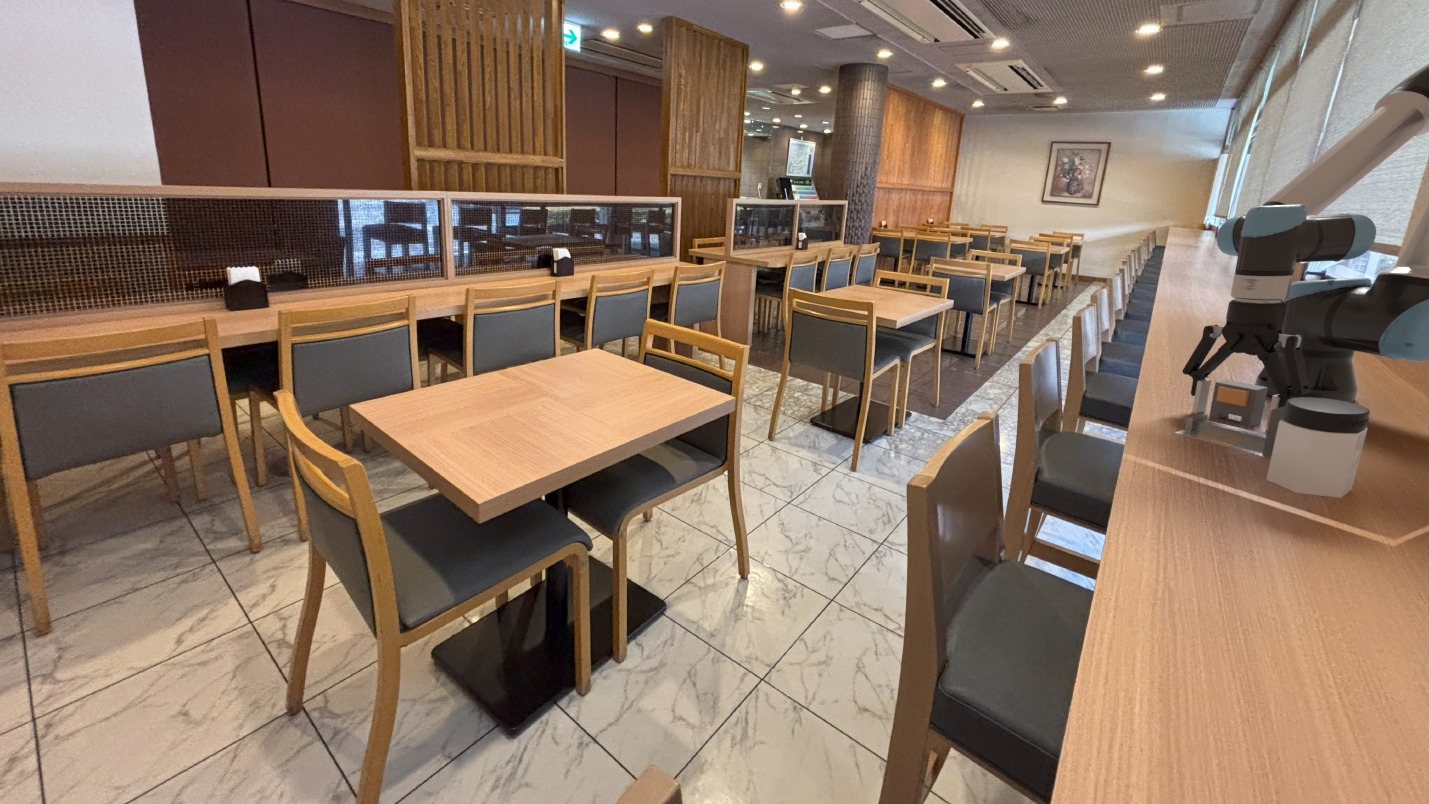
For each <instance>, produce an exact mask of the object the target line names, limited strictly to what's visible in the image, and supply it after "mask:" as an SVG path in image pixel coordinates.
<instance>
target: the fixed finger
mask: <svg viewBox="0 0 1429 804" xmlns="http://www.w3.org/2000/svg"><path fill="white" fill-rule="evenodd" d="M1284 409H1285V406H1284V407H1280V408H1276V409H1272V410H1270V409H1269V410H1270V413H1269V412H1268V415H1269V418H1268V417H1267V420H1268V422H1267V421H1266V424H1267V427H1268V431H1267V430H1266V435H1267V436H1266V441H1265V445H1264V450H1263V454H1266V455H1270V456H1272V451H1273V447H1274V442H1275V438H1276V433H1277V429H1278V424H1279V421H1280V420H1282V419H1283V413H1284Z"/></svg>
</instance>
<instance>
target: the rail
mask: <svg viewBox="0 0 1429 804" xmlns="http://www.w3.org/2000/svg"><path fill="white" fill-rule="evenodd" d="M1208 418H1209V414H1205V413H1197V414H1195V415H1194V414H1193V415H1191V416H1190V415H1189V416H1187V417H1186V421H1185V426H1184V429H1181V430H1179V431H1178V430H1177V431H1174V433H1173V434H1177V435H1180V436H1185V437H1188V438H1192V439H1195V440H1199V441H1203V442H1207V443H1211V444H1214V445H1218V446H1223V447H1226V448H1228V449H1233V450H1236V451H1239V452H1243V453H1247V454H1251V455H1255V456H1259V457H1262V458H1265V459H1269V460H1271V456H1270V455H1266V454H1263V450H1264V445H1265V441H1266V436H1267V433H1261V432H1258V431H1253V430H1249V429H1246V428H1242V427H1237V426H1232V425H1228V424H1224V423H1221V422H1216V421H1212V420H1208Z"/></svg>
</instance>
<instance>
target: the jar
mask: <svg viewBox="0 0 1429 804" xmlns="http://www.w3.org/2000/svg"><path fill="white" fill-rule="evenodd" d="M1370 414H1371V412H1370V409H1369V408H1367V407H1366V406H1364V405H1361V404H1357V403H1354V402H1346V401H1341V400H1334V399H1326V398H1314V397H1298V398H1291V399H1288V400H1287V401H1286V404H1285V409H1284V413H1283V419H1282V420H1280V421H1279V424H1278V429H1277V433H1276V438H1275V442H1274V447H1273V451H1272V456H1271V459H1269V460H1270V461H1269V466H1268V470H1267V475H1266V481H1268V482H1271V483H1273V484H1276V485H1277V486H1280V487H1282V488H1284V489H1286V490H1290V491H1292V492H1293V493H1295V494H1304V495H1312V496H1321V497H1328V498H1338V499H1341V498H1342V499H1343V497H1344V496H1346V495H1347V494H1348V493H1349V492H1350V491H1352V490H1353V485H1354V482H1355V479H1356V474H1357V471H1358V468H1359V467H1358V466H1359V463H1360V459H1361V456H1362V451H1363V447H1364V444H1365V441H1366V437H1367V432H1368V427H1367V426H1368V424H1369V421H1370Z"/></svg>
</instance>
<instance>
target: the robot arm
mask: <svg viewBox="0 0 1429 804" xmlns="http://www.w3.org/2000/svg"><path fill="white" fill-rule="evenodd" d="M1427 133H1429V63H1427V64H1425V65H1424V66H1422V67H1421V68H1420V69H1418V70H1416V71H1415V72H1413V73H1412V74H1410V75H1409V76H1408V77H1407V78H1405V79H1403V80H1402V81H1401V82H1399V83H1398V84H1397V85H1396V86H1394V87H1393V88H1392V89H1390V90H1389V91H1388V92H1387V93H1386V94H1384V96H1383V97H1381V98H1380V99H1379V100H1378V101H1377V102H1376V104H1375V105H1374V109H1373V112H1372V113H1370V114H1369V116H1367V117H1366V118H1364V119H1363V120H1362V121H1361V122H1360V123H1359V124H1357V125H1356V126H1355V127H1354V128H1353V129H1352V130H1350V131H1349V132H1348V133H1347V134H1346V135H1344V136H1343V137H1342V138H1341V139H1340V140H1339V141H1337V142H1336V143H1335V144H1334V145H1332V146H1331V147H1330V148H1328V149H1327V150H1326V151H1325V152H1324V153H1322V155H1320V156H1319V157H1318V158H1317V159H1315V160H1314V161H1313V162H1312V163H1311V164H1310V165H1308V166H1307V167H1305V169H1304V170H1303V171H1301V172H1300V173H1299V174H1298V175H1297V176H1295V177H1294V178H1293V179H1291V180H1290V181H1289V182H1288V183H1286V185H1284V186H1283V187H1282V188H1281V189H1280V190H1279V191H1277V192H1276V193H1275V194H1273V195H1272V196H1271V197H1270V198H1269V199H1268V200H1266V201H1265V202H1264V203H1263V204H1262V205H1256V206H1253V207H1251V208H1249V210H1248V211H1247V213H1246V214H1242V215H1239V216H1234V217H1231V218H1228V219H1227V220H1225V222H1223V224H1221V226H1220V227H1219V229H1218V231H1217V234H1216V245H1217V247H1218V248H1219V250H1220V252H1222V253H1223V254H1225V255H1228V256H1232V257H1237V259H1236V265H1235V270H1234V271H1235V272H1234V275H1233V280H1232V287H1231V291H1230V297H1232V298H1233V299H1232V300H1230V301H1228V305H1227V306H1228V307H1227V312H1226V317H1225V319H1226V323H1225V325H1223V326H1219V325H1218V324H1210V325H1206V326H1204V327H1203V331H1202V336H1201V339H1200V340H1199V342H1198V344H1197V345H1196V348H1195V349H1194V350H1193V352H1192V354H1191V356H1190V357H1189V359H1188V360H1187V362H1186V364H1185V365H1184V367H1183V368H1182V374H1183V375H1186V376H1187V375H1188V376H1189V377H1191V378H1192V383H1191V389H1190V395H1191V396H1192V397H1194V399H1193V404H1192V405H1193V406H1192V411H1191V413H1192V414H1195V415H1198V414H1202V413H1205V412H1206V409H1207V405H1208V399H1209V393H1210V388H1211V384H1212V379H1208V378H1209V375H1211V373H1213V372H1214V371H1215V370H1216V369H1217V368H1218V367H1219V366H1220V365H1221V364H1222V363H1224V362H1225V361H1227V359H1228V358H1229V357H1230V356H1231V355H1233V354H1234V353H1235V354H1242V353H1243V354H1246V355H1249V356H1256V357H1257V358H1258V360H1259V361H1261V362H1262V364H1263V368H1262V369H1261V370H1260V372H1259V374H1258V375H1257V376H1256V379H1255V383H1254V385H1258V386H1263V387H1268V390H1267V395H1266V396H1268V397H1271V402H1270V407H1269V409H1268V410H1269V412H1268V416H1267V420H1266V425H1265V431H1266V432H1267V431H1268V427H1267V422H1268V418H1269V413H1270V410H1272V409H1276V408H1280V407H1284V406H1285V404H1286V401H1287V400H1288V399H1291V398H1298V397H1314V398H1326V399H1334V400H1341V401H1346V402H1351V403H1354V402H1355V401H1356V398H1357V395H1358V391H1359V388H1358V383H1357V378H1356V373H1355V368H1354V363H1353V358H1354V354H1355V352H1358V353H1364V354H1370V355H1374V356H1380V357H1385V358H1387V359H1391V360H1394V361H1395V360H1396V361H1400V360H1403V361H1404V360H1405V361H1411V362H1429V203H1428V204H1427V207H1426V209H1425V211H1424V212H1423V214H1422V216H1421V218H1420V219H1419V222H1418V223H1417V225H1416V227H1415V229H1414V230H1413V232H1412V235H1411V236H1410V238H1409V240H1408V242H1407V244H1406V245H1405V247H1404V249H1403V251H1402V253H1401V255H1400V257H1399V259H1398V260H1397V263H1396V264H1395V265H1394V266H1393V267H1392V268H1389V269H1387V270H1384V271H1382V272H1379V273H1378V274H1377V276H1376V278H1375V280H1374V282H1373V283H1372V279H1371V278H1368V277H1358V278H1354V277H1353V278H1338V279H1337V278H1336V279H1333V278H1332V279H1319V280H1318V279H1317V280H1315V279H1313V280H1299V281H1294V282H1293V283H1292V281H1293V275H1294V272H1295V268H1296V264H1298V263H1313V262H1335V263H1337V262H1340V261H1345V260H1354V259H1357V258H1359V257H1361V256H1362V255H1364V254H1366V253H1367V252H1368V251H1369V250H1370V249H1371V247H1373V244H1374V243H1375V239H1376V235H1377V227H1376V225H1375V223H1374V222H1373V220H1372V219H1371V218H1370V217H1368V216H1366V215H1364V214H1358V213H1353V214H1352V213H1339V214H1320V213H1321V212H1323V211H1324V210H1326V208H1328V207H1329V206H1330V205H1331V204H1332V203H1334V202H1335V201H1336V200H1338V199H1339V198H1340V197H1341V196H1342V195H1344V194H1345V193H1346V192H1347V191H1349V190H1350V189H1351V188H1353V186H1354V185H1356V184H1357V183H1358V182H1360V181H1361V180H1362V179H1364V178H1365V176H1367V175H1369V173H1371V172H1372V171H1373V170H1374V169H1376V168H1377V167H1379V165H1381V164H1382V163H1383V162H1384V161H1386V160H1387V159H1388V158H1389V157H1390V156H1392V155H1393V154H1395V153H1396V152H1397V151H1398V150H1399V149H1400V148H1402V146H1404V145H1405V144H1407V143H1408V142H1409V141H1410V140H1411V139H1412V138H1414V137H1418V136H1422V135H1425V134H1427ZM1221 335H1222V336H1223V339H1224V340H1225V342H1224V343H1223V344H1222V345H1221V346H1220V347H1219V348H1218V349H1217V351H1216V352H1215V353H1214V354H1213V355H1212V356H1210V357H1209V359H1207V361H1205V359H1206V358H1207V356H1208V354H1209V353H1210V351H1211V350H1212V348H1213V346H1214V345H1215V343H1216V341H1217V340H1218V338H1220V337H1221ZM1204 361H1205V362H1204ZM1203 362H1204V363H1203Z"/></svg>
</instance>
